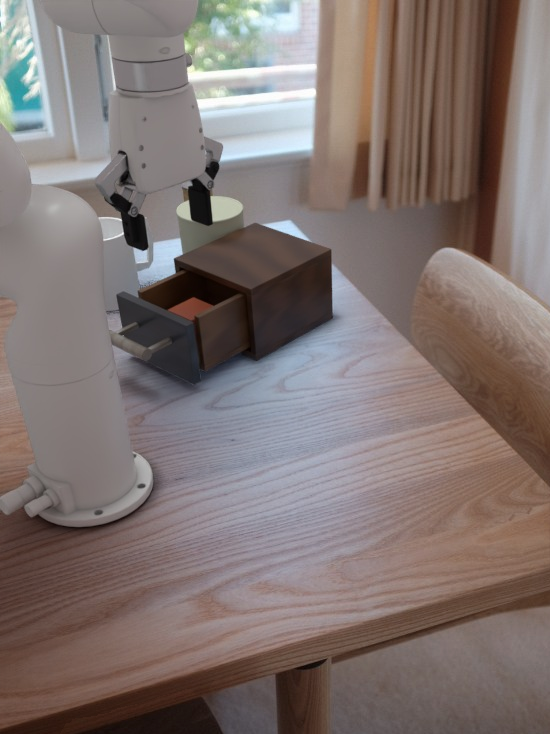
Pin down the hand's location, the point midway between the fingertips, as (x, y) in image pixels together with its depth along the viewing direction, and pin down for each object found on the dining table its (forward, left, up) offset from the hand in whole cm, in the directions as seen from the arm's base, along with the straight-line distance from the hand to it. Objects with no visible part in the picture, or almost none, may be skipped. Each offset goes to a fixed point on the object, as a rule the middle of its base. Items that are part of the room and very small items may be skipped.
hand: (170, 234), depth 104 cm
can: (+17, +12, -17) cm, 26 cm away
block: (+2, 0, -14) cm, 14 cm away
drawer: (0, 0, -15) cm, 15 cm away
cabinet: (+13, 0, -16) cm, 21 cm away
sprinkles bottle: (+22, +20, -17) cm, 34 cm away
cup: (+7, +21, -17) cm, 27 cm away
